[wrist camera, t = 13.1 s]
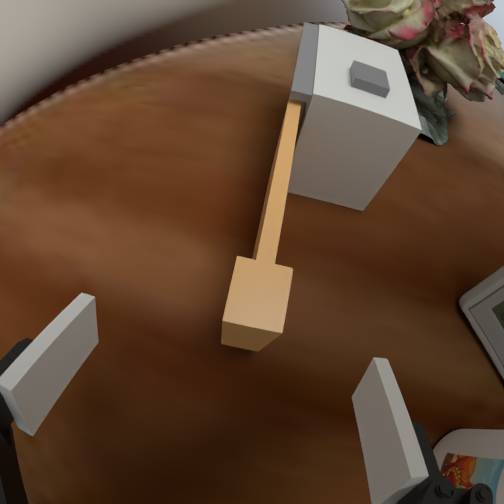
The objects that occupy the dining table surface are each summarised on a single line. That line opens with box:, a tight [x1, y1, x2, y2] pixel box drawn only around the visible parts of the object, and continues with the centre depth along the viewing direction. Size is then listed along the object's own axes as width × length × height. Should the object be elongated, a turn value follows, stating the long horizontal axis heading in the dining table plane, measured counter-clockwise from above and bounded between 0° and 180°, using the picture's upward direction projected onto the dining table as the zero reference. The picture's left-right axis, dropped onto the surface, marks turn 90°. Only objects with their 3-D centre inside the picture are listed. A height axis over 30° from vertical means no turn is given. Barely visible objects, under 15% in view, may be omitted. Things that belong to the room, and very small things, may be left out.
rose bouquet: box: [342, 0, 504, 146], centre depth 30 cm, size 26×29×30 cm
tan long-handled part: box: [221, 95, 302, 352], centre depth 23 cm, size 18×3×10 cm, turn 169°
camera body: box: [287, 22, 422, 211], centre depth 29 cm, size 15×11×14 cm
